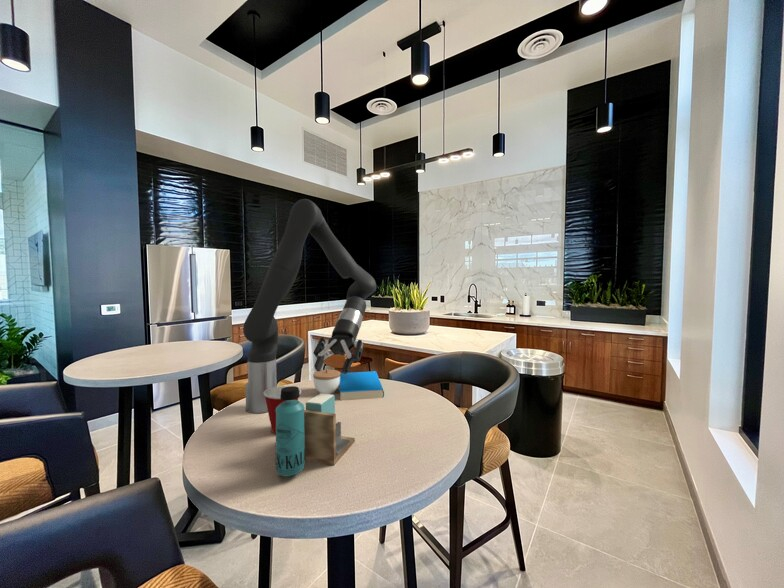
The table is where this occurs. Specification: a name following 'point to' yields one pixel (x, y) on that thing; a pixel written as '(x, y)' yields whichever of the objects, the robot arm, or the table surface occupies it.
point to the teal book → (322, 403)
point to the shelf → (324, 438)
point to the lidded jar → (326, 381)
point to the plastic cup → (274, 403)
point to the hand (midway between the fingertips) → (330, 371)
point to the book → (360, 385)
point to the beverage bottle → (290, 433)
